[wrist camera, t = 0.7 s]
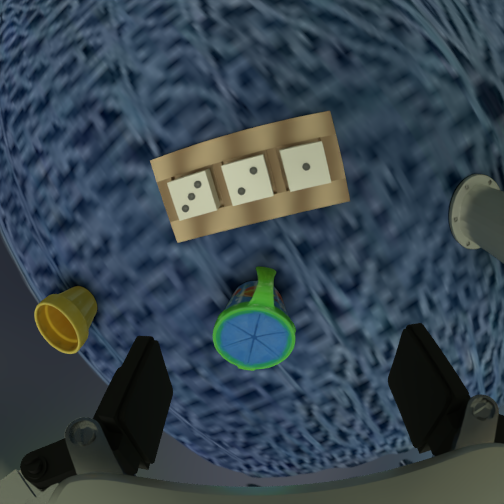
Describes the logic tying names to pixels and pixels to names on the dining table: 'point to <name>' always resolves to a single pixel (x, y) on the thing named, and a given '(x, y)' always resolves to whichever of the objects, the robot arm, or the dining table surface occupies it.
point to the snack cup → (255, 325)
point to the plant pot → (66, 318)
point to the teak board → (269, 144)
